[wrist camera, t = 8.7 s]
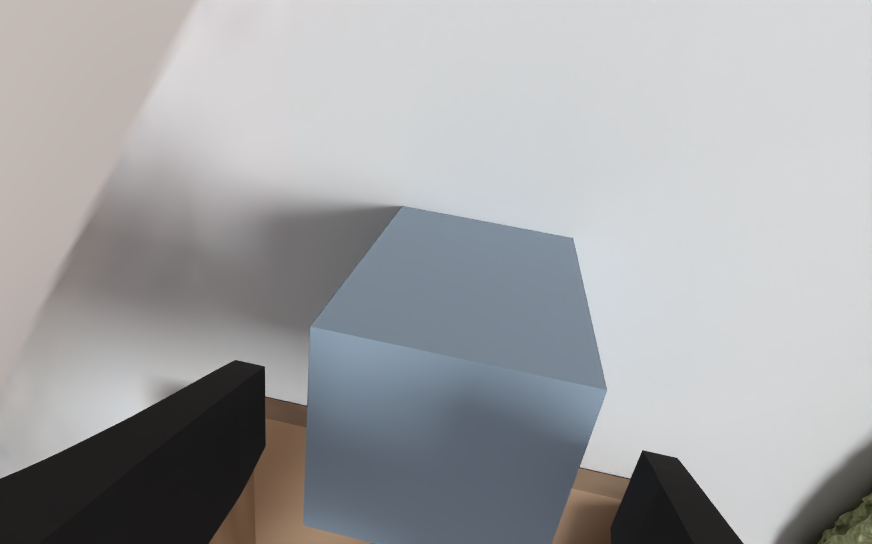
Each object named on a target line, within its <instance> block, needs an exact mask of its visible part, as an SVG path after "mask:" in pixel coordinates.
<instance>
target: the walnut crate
mask: <svg viewBox="0 0 872 544" xmlns="http://www.w3.org/2000/svg"><path fill="white" fill-rule="evenodd" d="M265 426H266V447H265V449H264V451H263V453H262V455H261V457H260V459H259V461H258V463H257V465H256V467H255V469H254V471H253V473H252V475H251V477H250V479H249V480H248V482H247V484H246V486H245V488H244V490H243V492H242V494H241V495H240V497H239V498H238V500H237V502H236V503H235V505H234V506H233V508H232V509H231V511H230V512H229V514H228V515H227V517H226V518H225V520H224V521H223V523H222V524H221V526H220V527H219V529H218V530H217V532H216V533H215V535H214V536H213V538H212V539H211V541H210V542H209V544H375V543H371V542H367V541H363V540H359V539H355V538H351V537H347V536H343V535H339V534H335V533H331V532H327V531H323V530H319V529H315V528H312V527H308V526H304V525H303V509H304V482H305V454H306V427H307V406H302V405H298V404H293V403H289V402H284V401H280V400H276V399H271V398H267V397H265ZM629 482H630V479H626V478H621V477H617V476H612V475H608V474H604V473H599V472H595V471H590V470H586V469H581V468H579V470H578V472H577V475H576V478H575V481H574V484H573V486H572V489H571V492H570V495H569V497H568V500H567V503H566V506H565V509H564V511H563V514H562V517H561V520H560V522H559V525H558V528H557V531H556V534H555V536H554V539H553V542H552V544H611V531H610V527H611V525H612V523H613V520H614V518H615V515H616V513H617V511H618V508H619V506H620V503H621V501H622V499H623V496H624V494H625V491H626V489H627V487H628V484H629Z"/></svg>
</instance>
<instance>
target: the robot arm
mask: <svg viewBox="0 0 872 544" xmlns="http://www.w3.org/2000/svg"><path fill="white" fill-rule="evenodd" d="M265 447H266V426H265V367H264V366H260V365H255V364H251V363H246V362H242V361H237V360H235V361H233V362H231V363H229V364H227V365H225V366H223V367H221V368H219V369H217V370H215V371H214V372H212V373H210V374H208V375H206V376H205V377H203V378H201V379H199V380H197V381H196V382H194V383H192V384H190V385H188V386H187V387H185V388H183V389H181V390H180V391H178V392H176V393H174V394H172V395H170V396H169V397H167V398H165V399H163V400H161V401H159V402H158V403H156V404H154V405H152V406H150V407H148V408H147V409H145V410H143V411H141V412H139V413H137V414H135V415H134V416H132V417H130V418H128V419H126V420H124V421H122V422H120V423H118V424H116V425H114V426H112V427H110V428H108V429H106V430H104V431H102V432H100V433H98V434H96V435H94V436H92V437H90V438H88V439H86V440H84V441H82V442H80V443H78V444H76V445H74V446H72V447H70V448H68V449H66V450H64V451H62V452H60V453H58V454H55V455H53V456H51V457H49V458H47V459H45V460H42V461H40V462H38V463H36V464H34V465H31V466H29V467H27V468H25V469H22V470H20V471H18V472H15V473H13V474H10V475H8V476H6V477H3V478H1V479H0V544H209V542H210V541H211V539H212V538H213V536H214V535H215V533H216V532H217V530H218V529H219V527H220V526H221V524H222V523H223V521H224V520H225V518H226V517H227V515H228V514H229V512H230V511H231V509H232V508H233V506H234V505H235V503H236V502H237V500H238V498H239V497H240V495H241V494H242V492H243V490H244V488H245V486H246V484H247V482H248V480H249V479H250V477H251V475H252V473H253V471H254V469H255V467H256V465H257V463H258V461H259V459H260V457H261V455H262V453H263V451H264V449H265ZM610 531H611V544H743V542H742V541H741V540H740V539H739V537H738V536H737V535H736V533H735V532H734V531H733V530H732V528H731V527H730V526H729V524H728V523H727V522H726V520H725V519H724V518H723V517H722V515H721V514H720V513H719V511H718V510H717V509H716V507H715V506H714V505H713V504H712V502H711V501H710V500H709V498H708V497H707V496H706V494H705V493H704V492H703V490H702V489H701V488H700V486H699V485H698V484H697V483H696V481H695V480H694V479H693V477H692V476H691V475H690V473H689V472H688V471H687V470H686V468H685V467H684V466H683V465H682V463H681V462H680V461H679V460H678V458H675V457H670V456H666V455H661V454H657V453H652V452H648V451H643V450H642V453H641V455H640V458H639V460H638V462H637V465H636V467H635V470H634V472H633V474H632V477H631V479H630V482H629V484H628V487H627V489H626V491H625V494H624V496H623V499H622V501H621V503H620V506H619V508H618V511H617V513H616V515H615V518H614V520H613V523H612V525H611V527H610Z"/></svg>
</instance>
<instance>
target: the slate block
mask: <svg viewBox="0 0 872 544" xmlns="http://www.w3.org/2000/svg"><path fill="white" fill-rule="evenodd" d="M606 392H607V388H606V383H605V379H604V374H603V370H602V365H601V361H600V356H599V352H598V347H597V343H596V338H595V334H594V330H593V325H592V321H591V316H590V312H589V307H588V303H587V298H586V294H585V289H584V285H583V280H582V276H581V271H580V267H579V262H578V258H577V254H576V249H575V245H574V240H573V238H569V237H564V236H558V235H553V234H548V233H542V232H537V231H532V230H526V229H521V228H516V227H511V226H505V225H500V224H495V223H489V222H484V221H479V220H474V219H468V218H463V217H458V216H452V215H447V214H442V213H436V212H431V211H426V210H421V209H415V208H410V207H405V206H402V207H401V209H400V210H399V211H398V213H397V214H396V215H395V216H394V218H393V219H392V220H391V222H390V223H389V224H388V226H387V227H386V228H385V230H384V231H383V232H382V233H381V235H380V236H379V237H378V239H377V240H376V241H375V243H374V244H373V245H372V246H371V248H370V249H369V250H368V252H367V253H366V254H365V256H364V257H363V258H362V259H361V261H360V262H359V263H358V265H357V266H356V267H355V269H354V270H353V271H352V273H351V274H350V275H349V276H348V278H347V279H346V280H345V282H344V283H343V284H342V286H341V287H340V288H339V289H338V291H337V292H336V293H335V295H334V296H333V297H332V299H331V300H330V301H329V302H328V304H327V305H326V306H325V308H324V309H323V310H322V312H321V313H320V314H319V316H318V317H317V318H316V319H315V321H314V322H313V323H312V325H311V326H310V344H309V372H308V399H307V427H306V454H305V482H304V509H303V525H304V526H308V527H312V528H315V529H319V530H323V531H327V532H331V533H335V534H339V535H343V536H347V537H351V538H355V539H359V540H363V541H367V542H371V543H375V544H552V542H553V539H554V536H555V534H556V531H557V528H558V525H559V522H560V520H561V517H562V514H563V511H564V509H565V506H566V503H567V500H568V497H569V495H570V492H571V489H572V486H573V484H574V481H575V478H576V475H577V472H578V470H579V467H580V464H581V461H582V459H583V456H584V453H585V450H586V447H587V445H588V442H589V439H590V436H591V434H592V431H593V428H594V425H595V422H596V420H597V417H598V414H599V411H600V409H601V406H602V403H603V400H604V397H605V395H606Z"/></svg>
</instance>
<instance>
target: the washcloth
mask: <svg viewBox="0 0 872 544" xmlns="http://www.w3.org/2000/svg"><path fill="white" fill-rule="evenodd" d="M862 500H863V501H864V502H863V503H861V504H860V506H859V507H857V508H856V509H854V510H853V511H849V512H846V513H844V514H842V515H841V516H840V517H839V519H837V521H836V522H835V523H834V528H832V529H826V530H825V531H824V532H823V533H822V534H823V537H822V538H821V539H820V541H819V542H818V543H817V544H872V492H871V494H870V495H868V496H866V497H864V498H863V499H862Z"/></svg>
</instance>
